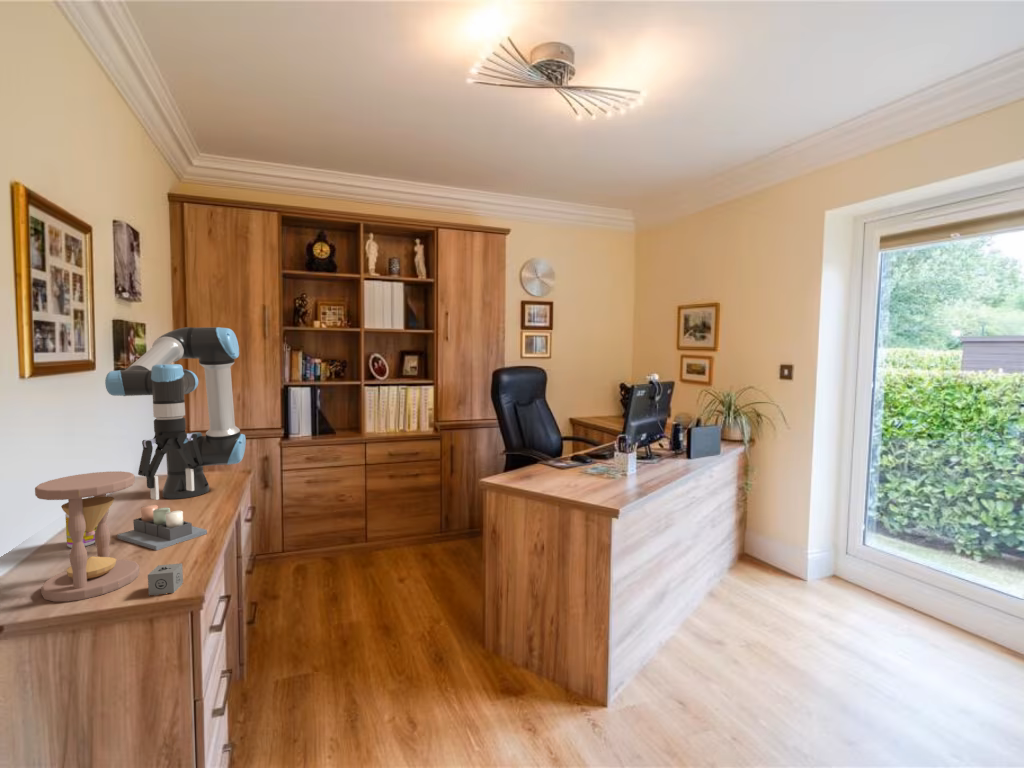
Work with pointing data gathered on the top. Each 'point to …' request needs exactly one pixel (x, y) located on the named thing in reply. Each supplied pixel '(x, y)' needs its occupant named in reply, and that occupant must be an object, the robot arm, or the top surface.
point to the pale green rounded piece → (160, 515)
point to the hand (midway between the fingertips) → (173, 494)
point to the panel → (160, 534)
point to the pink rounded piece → (148, 512)
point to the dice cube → (165, 579)
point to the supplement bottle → (86, 539)
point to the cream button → (174, 519)
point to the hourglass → (85, 515)
